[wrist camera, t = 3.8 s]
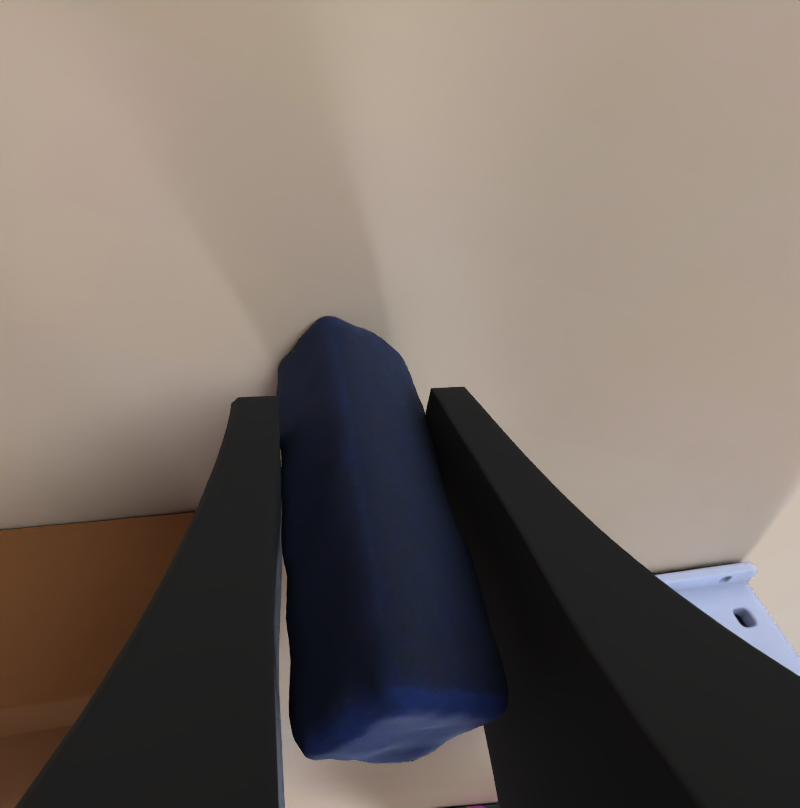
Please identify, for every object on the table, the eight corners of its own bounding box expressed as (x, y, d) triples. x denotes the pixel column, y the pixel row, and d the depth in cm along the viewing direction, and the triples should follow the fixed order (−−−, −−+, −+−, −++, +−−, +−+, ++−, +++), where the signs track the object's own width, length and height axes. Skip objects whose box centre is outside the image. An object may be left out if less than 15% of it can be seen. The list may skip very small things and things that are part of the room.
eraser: (414, 353, 11) (535, 712, 7) (342, 417, 12) (403, 774, 7) (334, 298, 10) (413, 694, 5) (261, 374, 11) (271, 772, 6)
